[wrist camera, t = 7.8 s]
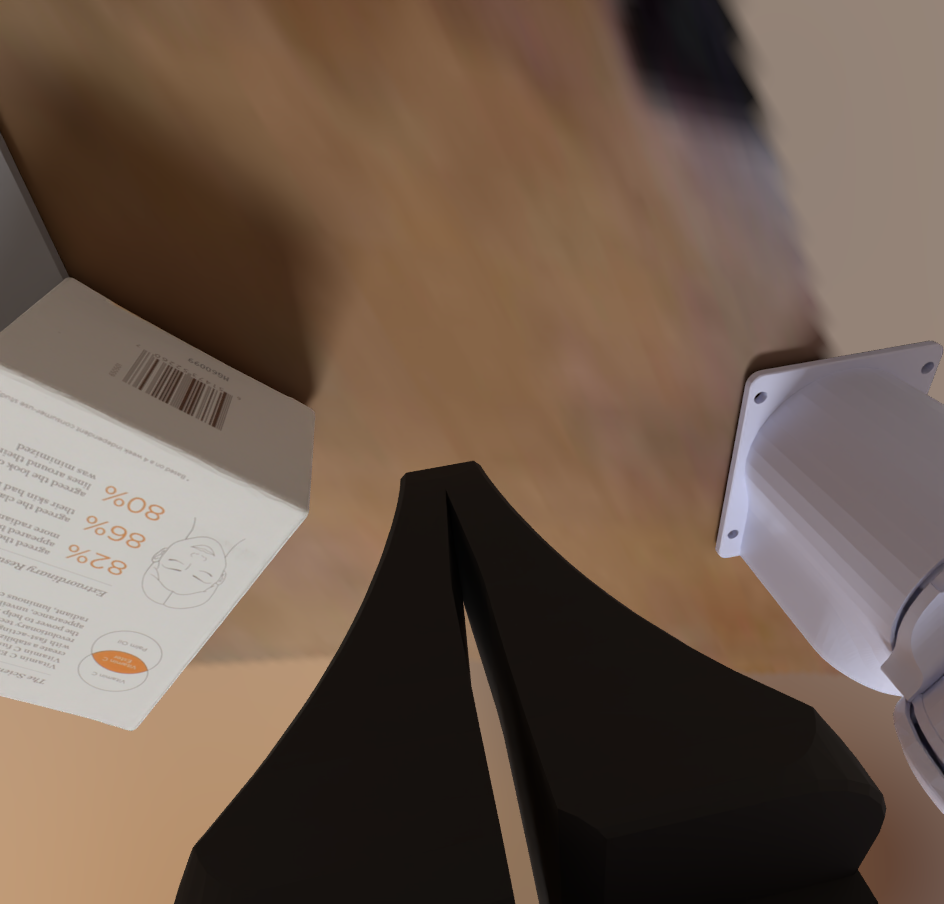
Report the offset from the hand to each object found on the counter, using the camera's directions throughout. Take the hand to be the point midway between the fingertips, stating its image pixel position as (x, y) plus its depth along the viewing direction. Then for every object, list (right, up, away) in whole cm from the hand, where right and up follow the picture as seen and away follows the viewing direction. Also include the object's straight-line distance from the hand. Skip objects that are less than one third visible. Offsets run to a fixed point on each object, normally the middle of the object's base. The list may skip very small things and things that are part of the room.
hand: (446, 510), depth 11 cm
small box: (-7, +3, +5) cm, 9 cm away
